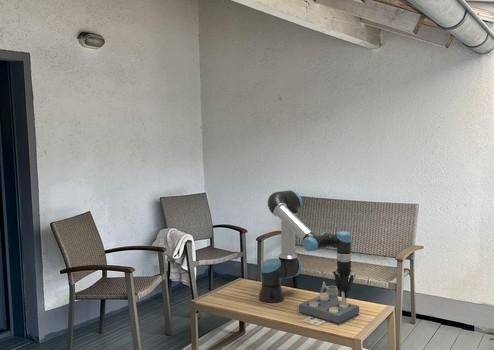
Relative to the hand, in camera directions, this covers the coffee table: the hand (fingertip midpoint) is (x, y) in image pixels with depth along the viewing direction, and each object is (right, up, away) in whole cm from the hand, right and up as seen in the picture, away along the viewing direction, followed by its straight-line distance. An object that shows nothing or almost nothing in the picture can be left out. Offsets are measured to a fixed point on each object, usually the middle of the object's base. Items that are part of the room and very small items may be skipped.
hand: (344, 302), depth 264 cm
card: (-18, -7, -10) cm, 22 cm away
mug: (-5, -5, +19) cm, 21 cm away
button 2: (-9, -2, +9) cm, 13 cm away
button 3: (-7, -6, -7) cm, 11 cm away
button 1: (-16, -6, +2) cm, 17 cm away
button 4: (0, -5, +1) cm, 5 cm away
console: (-8, -6, +2) cm, 11 cm away
